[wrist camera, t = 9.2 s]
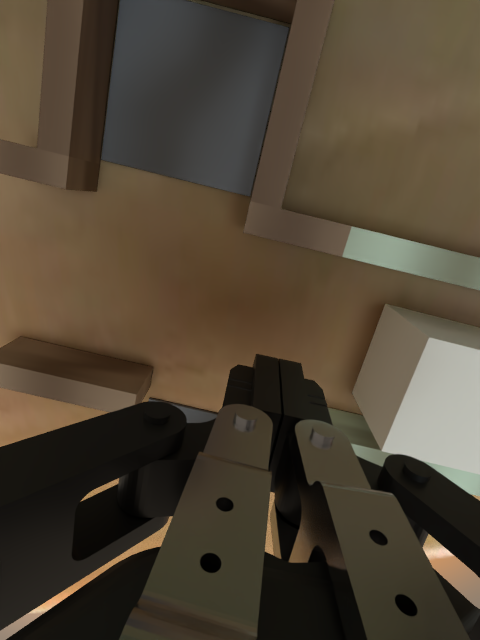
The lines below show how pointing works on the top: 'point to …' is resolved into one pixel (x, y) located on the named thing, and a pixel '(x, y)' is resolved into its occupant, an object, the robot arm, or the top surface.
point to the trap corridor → (191, 155)
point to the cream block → (423, 388)
